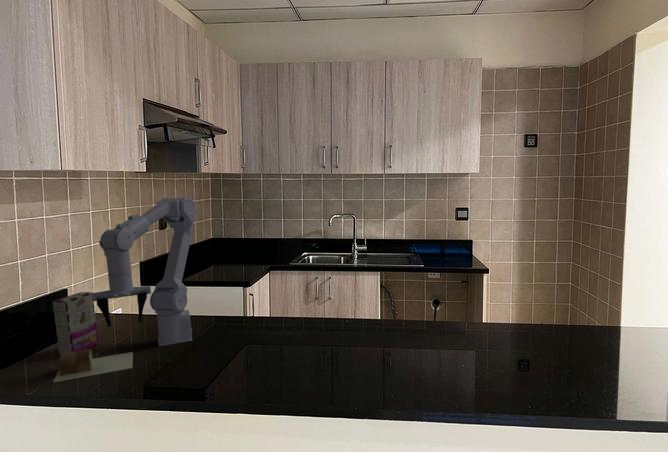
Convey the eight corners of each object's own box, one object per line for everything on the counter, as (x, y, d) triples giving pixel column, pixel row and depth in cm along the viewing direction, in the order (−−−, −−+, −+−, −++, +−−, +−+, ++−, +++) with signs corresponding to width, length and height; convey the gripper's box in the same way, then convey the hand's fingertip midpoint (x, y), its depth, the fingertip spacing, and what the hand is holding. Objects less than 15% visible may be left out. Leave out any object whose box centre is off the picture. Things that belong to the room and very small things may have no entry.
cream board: (133, 352, 138) (133, 351, 138) (132, 368, 125) (132, 367, 125) (61, 364, 131) (61, 364, 131) (53, 383, 118) (53, 382, 118)
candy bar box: (85, 343, 149) (79, 291, 148) (99, 344, 148) (93, 291, 147) (57, 356, 138) (51, 300, 137) (72, 357, 137) (66, 300, 136)
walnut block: (91, 348, 130) (62, 353, 128) (89, 355, 125) (58, 360, 122) (92, 363, 130) (63, 368, 128) (90, 370, 125) (60, 375, 122)
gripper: (88, 279, 123) (93, 331, 124) (149, 272, 128) (154, 322, 129) (90, 275, 129) (96, 325, 130) (148, 268, 135) (153, 316, 136)
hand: (125, 323), depth 130 cm, fingers open, 7 cm apart
